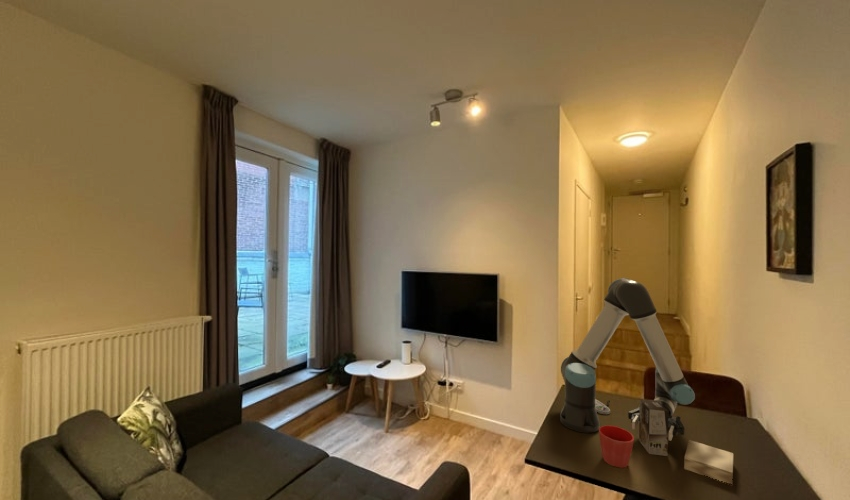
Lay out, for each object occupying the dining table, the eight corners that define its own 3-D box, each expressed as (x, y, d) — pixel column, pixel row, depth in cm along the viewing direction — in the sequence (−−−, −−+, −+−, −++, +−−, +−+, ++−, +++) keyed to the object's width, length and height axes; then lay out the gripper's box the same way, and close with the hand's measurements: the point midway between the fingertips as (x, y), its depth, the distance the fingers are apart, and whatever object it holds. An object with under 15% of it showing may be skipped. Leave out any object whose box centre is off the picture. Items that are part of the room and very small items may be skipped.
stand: (684, 468, 117) (684, 456, 117) (689, 450, 127) (689, 439, 127) (732, 485, 109) (732, 472, 108) (733, 465, 119) (733, 453, 119)
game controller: (580, 400, 169) (580, 396, 169) (605, 399, 170) (605, 396, 170) (599, 415, 154) (599, 411, 154) (626, 414, 155) (626, 410, 155)
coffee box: (668, 456, 123) (669, 411, 123) (648, 454, 125) (649, 409, 125) (657, 442, 132) (657, 399, 132) (638, 440, 134) (638, 398, 133)
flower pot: (631, 456, 123) (631, 428, 123) (635, 474, 113) (635, 444, 113) (597, 448, 128) (598, 422, 128) (598, 465, 118) (599, 437, 118)
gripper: (697, 429, 134) (691, 454, 118) (629, 410, 150) (615, 429, 133) (697, 409, 134) (691, 431, 118) (629, 392, 149) (615, 410, 133)
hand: (651, 430), depth 125 cm, fingers open, 10 cm apart
